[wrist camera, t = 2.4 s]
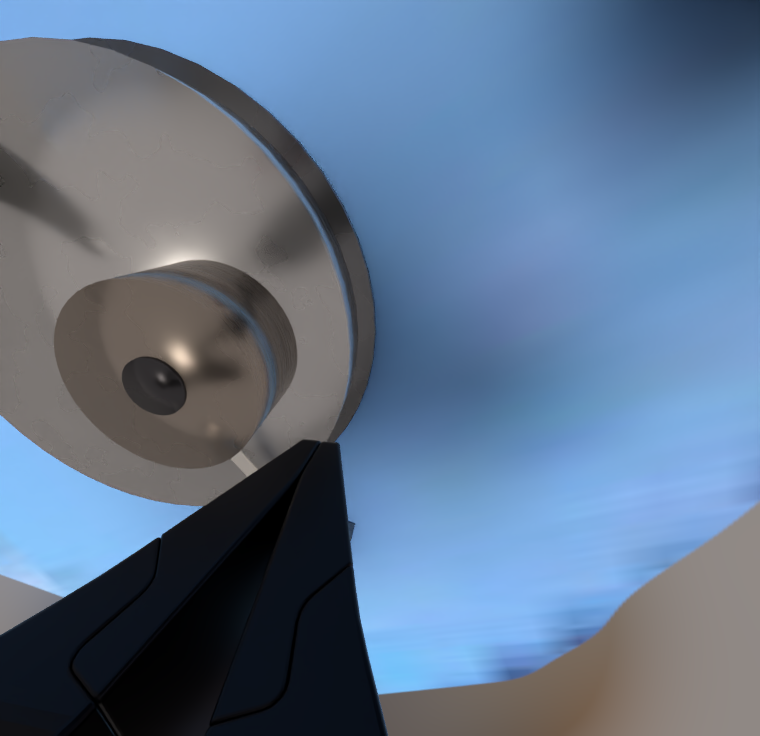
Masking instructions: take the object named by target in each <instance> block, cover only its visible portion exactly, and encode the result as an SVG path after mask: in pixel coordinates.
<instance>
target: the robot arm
mask: <svg viewBox="0 0 760 736" xmlns="http://www.w3.org/2000/svg"><path fill="white" fill-rule="evenodd" d="M0 736H388V733H387V729H386V725H385V721H384V717H383V713H382V709H381V705H380V701H379V697H378V693H377V689H376V685H375V681H374V677H373V673H372V669H371V665H370V661H369V657H368V652H367V648H366V643H365V638H364V634H363V629H362V625H361V620H360V613H359V607H358V600H357V593H356V586H355V577H354V569H353V560H352V551H351V542H350V533H349V524H348V515H347V506H346V497H345V488H344V479H343V470H342V461H341V452H340V445H339V443H337V442H328V441H323V442H320V441H318V440H310V439H303V440H301V441H299V442H298V443H296V444H295V445H293V446H292V447H291V448H289V449H288V450H286V451H285V452H283V453H282V454H280V455H279V456H277V457H276V458H274V459H273V460H271V461H270V462H268V463H267V464H265V465H264V466H263V467H261V468H260V469H258V470H257V471H255V472H254V473H252V474H251V475H249V476H248V477H246V478H245V479H243V480H242V481H240V482H239V483H237V484H236V485H235V486H233V487H232V488H230V489H229V490H227V491H226V492H224V493H223V494H221V495H220V496H218V497H217V498H215V499H214V500H212V501H211V502H209V503H208V504H207V505H205V506H204V507H202V508H201V509H199V510H198V511H196V512H195V513H193V514H192V515H190V516H189V517H187V518H186V519H184V520H183V521H181V522H180V523H179V524H177V525H176V526H174V527H173V528H171V529H170V530H168V531H167V532H165V533H164V534H163V535H162V536H161V538H156V539H155V540H153V541H152V542H150V543H149V544H147V545H146V546H144V547H143V548H141V549H140V550H138V551H137V552H135V553H134V554H132V555H131V556H129V557H128V558H126V559H125V560H123V561H122V562H120V563H119V564H117V565H116V566H114V567H112V568H111V569H109V570H108V571H106V572H105V573H103V574H102V575H100V576H99V577H97V578H95V579H94V580H92V581H90V582H89V583H87V584H85V585H84V586H82V587H80V588H79V589H77V590H76V591H74V592H72V593H71V594H69V595H67V596H66V597H64V598H62V599H61V600H59V601H58V602H56V603H54V604H52V605H51V606H49V607H47V608H46V609H44V610H42V611H41V612H39V613H37V614H36V615H34V616H32V617H30V618H29V619H27V620H25V621H24V622H22V623H20V624H19V625H17V626H15V627H13V628H12V629H10V630H8V631H7V632H5V633H3V634H2V635H0Z"/></svg>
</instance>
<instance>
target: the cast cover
mask: <svg viewBox="0 0 760 736" xmlns="http://www.w3.org/2000/svg"><path fill="white" fill-rule="evenodd" d="M54 352H55V357H56V362H57V366H58V369H59V372H60V375H61V378H62V380H63V382H64V384H65V386H66V388H67V390H68V392H69V393H70V395H71V397H72V398H73V400H74V401H75V403H76V404H77V406H78V407H79V408H80V410H81V411H82V412H83V413H84V414H85V416H86V417H87V418H88V419H89V420H90V421H91V422H92V423H93V424H94V425H95V426H96V427H97V428H98V429H99V430H100V431H101V432H102V433H104V434H105V435H106V436H107V437H109V438H110V439H111V440H112V441H114V442H115V443H117V444H118V445H120V446H121V447H123V448H125V449H126V450H128V451H130V452H132V453H133V454H135V455H138V456H140V457H142V458H144V459H146V460H149V461H152V462H155V463H158V464H161V465H165V466H169V467H176V468H185V469H197V468H206V467H211V466H215V465H218V464H221V463H223V462H225V461H227V460H229V459H231V458H232V457H234V456H235V455H236V454H238V453H239V452H240V451H241V450H242V449H243V448H244V447H245V445H246V444H247V443H248V441H249V440H250V439H251V437H252V436H253V435H254V434H255V432H256V431H257V430H258V428H259V427H260V426H261V424H262V423H263V422H264V420H265V419H266V418H267V416H268V415H269V414H270V412H271V411H272V410H273V408H274V407H275V406H276V404H277V403H278V402H279V401H280V399H281V398H282V397H283V395H284V394H285V393H286V391H287V390H288V388H289V387H290V385H291V383H292V381H293V378H294V375H295V372H296V367H297V345H296V339H295V335H294V332H293V329H292V326H291V324H290V321H289V319H288V317H287V315H286V314H285V312H284V310H283V308H282V307H281V306H280V304H279V303H278V302H277V300H276V299H275V298H274V297H273V295H272V294H271V293H270V292H269V291H268V290H267V289H266V288H265V287H264V286H263V285H261V284H260V283H259V282H258V281H257V280H255V279H254V278H252V277H251V276H249V275H248V274H246V273H245V272H243V271H241V270H239V269H237V268H235V267H232V266H230V265H227V264H224V263H220V262H216V261H211V260H188V261H182V262H178V263H174V264H170V265H165V266H161V267H157V268H153V269H149V270H144V271H140V272H136V273H132V274H128V275H123V276H119V277H115V278H111V279H107V280H102V281H98V282H96V283H93V284H90V285H87V286H86V287H84V288H82V289H81V290H79V291H77V292H76V293H75V294H74V295H73V296H72V297H71V298H69V299H68V301H67V302H66V303H65V305H64V306H63V308H62V309H61V311H60V314H59V316H58V318H57V322H56V326H55V330H54Z"/></svg>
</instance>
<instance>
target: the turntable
mask: <svg viewBox="0 0 760 736" xmlns="http://www.w3.org/2000/svg"><path fill="white" fill-rule="evenodd" d="M188 260H211V261H216V262H220V263H224V264H227V265H230V266H232V267H235V268H237V269H239V270H241V271H243V272H245V273H246V274H248V275H249V276H251V277H252V278H254V279H255V280H257V281H258V282H259V283H260V284H261V285H263V286H264V287H265V288H266V289H267V290H268V291H269V292H270V293H271V294H272V295H273V297H274V298H275V299H276V300H277V302H278V303H279V304H280V306H281V307H282V308H283V310H284V312H285V314H286V315H287V317H288V319H289V321H290V324H291V326H292V329H293V332H294V335H295V339H296V345H297V367H296V372H295V375H294V378H293V381H292V383H291V385H290V387H289V388H288V390H287V391H286V393H285V394H284V395H283V397H282V398H281V399H280V401H279V402H278V403H277V404H276V406H275V407H274V408H273V410H272V411H271V412H270V414H269V415H268V416H267V418H266V419H265V420H264V422H263V423H262V424H261V426H260V427H259V428H258V430H257V431H256V432H255V434H254V435H253V436H252V437H251V439H250V440H249V441H248V443H247V444H246V445H245V447H244V448H243V449H242V450H241V451H240V452H239V453H238V454H236V455H235V456H234V457H232V458H231V459H229V460H227V461H225V462H223V463H221V464H218V465H215V466H211V467H206V468H197V469H185V468H176V467H169V466H165V465H161V464H158V463H155V462H152V461H149V460H146V459H144V458H142V457H140V456H138V455H135V454H133V453H132V452H130V451H128V450H126V449H125V448H123V447H121V446H120V445H118V444H117V443H115V442H114V441H112V440H111V439H110V438H109V437H107V436H106V435H105V434H104V433H102V432H101V431H100V430H99V429H98V428H97V427H96V426H95V425H94V424H93V423H92V422H91V421H90V420H89V419H88V418H87V417H86V416H85V414H84V413H83V412H82V411H81V410H80V408H79V407H78V406H77V404H76V403H75V401H74V400H73V398H72V397H71V395H70V393H69V392H68V390H67V388H66V386H65V384H64V382H63V380H62V378H61V375H60V372H59V369H58V366H57V362H56V357H55V352H54V330H55V326H56V322H57V318H58V316H59V314H60V311H61V309H62V308H63V306H64V305H65V303H66V302H67V301H68V299H69V298H71V297H72V296H73V295H74V294H75V293H76V292H77V291H79V290H81V289H82V288H84V287H86V286H87V285H90V284H93V283H96V282H98V281H102V280H107V279H111V278H115V277H119V276H123V275H128V274H132V273H136V272H140V271H144V270H149V269H153V268H157V267H161V266H165V265H170V264H174V263H178V262H182V261H188ZM357 348H358V322H357V308H356V302H355V297H354V293H353V288H352V283H351V278H350V275H349V272H348V269H347V266H346V263H345V260H344V257H343V254H342V251H341V248H340V245H339V243H338V241H337V239H336V237H335V235H334V233H333V231H332V229H331V227H330V224H329V222H328V220H327V218H326V216H325V214H324V213H323V211H322V210H321V208H320V206H319V205H318V203H317V202H316V200H315V198H314V197H313V195H312V194H311V192H310V190H309V189H308V187H307V186H306V184H305V183H304V182H303V181H302V179H301V178H300V177H299V176H298V174H297V173H296V172H295V171H294V169H293V168H292V167H291V166H290V164H289V163H288V162H287V161H286V159H285V158H284V157H283V156H282V155H281V154H280V153H279V152H278V151H277V150H276V149H275V148H274V147H273V146H272V145H271V144H270V143H269V142H268V141H267V140H266V139H265V138H264V137H263V136H262V135H261V134H260V133H259V132H258V131H257V130H256V129H255V128H254V127H252V126H251V125H250V124H248V123H247V122H246V121H244V120H243V119H242V118H241V117H239V116H238V115H237V114H235V113H234V112H233V111H231V110H230V109H229V108H228V107H226V106H225V105H223V104H222V103H220V102H218V101H217V100H215V99H213V98H211V97H210V96H208V95H206V94H205V93H203V92H201V91H199V90H198V89H196V88H194V87H193V86H191V85H189V84H187V83H185V82H183V81H181V80H179V79H176V78H174V77H172V76H170V75H168V74H166V73H164V72H162V71H160V70H158V69H156V68H154V67H152V66H150V65H148V64H145V63H143V62H140V61H138V60H135V59H133V58H131V57H128V56H126V55H123V54H121V53H118V52H116V51H113V50H111V49H107V48H103V47H99V46H95V45H91V44H87V43H82V42H78V41H74V40H68V39H53V38H38V37H30V38H22V39H14V40H6V41H0V415H1V416H2V417H4V418H5V419H6V420H7V421H8V422H9V423H10V424H12V425H13V426H14V427H15V428H16V429H17V430H18V431H19V432H21V433H22V434H23V435H24V436H26V437H27V438H28V439H30V440H31V441H32V442H34V443H35V444H36V445H37V446H39V447H40V448H41V449H43V450H44V451H46V452H47V453H49V454H50V455H52V456H53V457H55V458H56V459H58V460H60V461H61V462H63V463H64V464H66V465H68V466H69V467H71V468H73V469H75V470H77V471H78V472H80V473H82V474H84V475H86V476H88V477H90V478H92V479H94V480H96V481H99V482H101V483H103V484H105V485H107V486H110V487H112V488H115V489H118V490H121V491H123V492H126V493H129V494H132V495H135V496H139V497H143V498H146V499H150V500H154V501H159V502H165V503H171V504H177V505H191V506H205V505H207V504H208V503H209V502H211V501H212V500H214V499H215V498H217V497H218V496H220V495H221V494H223V493H224V492H226V491H227V490H229V489H230V488H232V487H233V486H235V485H236V484H237V483H239V482H240V481H242V480H243V479H245V478H246V477H248V476H249V475H251V474H252V473H254V472H255V471H257V470H258V469H260V468H261V467H263V466H264V465H265V464H267V463H268V462H270V461H271V460H273V459H274V458H276V457H277V456H279V455H280V454H282V453H283V452H285V451H286V450H288V449H289V448H291V447H292V446H293V445H295V444H296V443H298V442H299V441H301V440H303V439H310V440H318V441H320V442H323V441H327V439H328V438H329V436H330V434H331V432H332V430H333V429H334V427H335V424H336V422H337V420H338V417H339V415H340V413H341V410H342V408H343V405H344V403H345V400H346V398H347V395H348V392H349V390H350V387H351V384H352V380H353V375H354V371H355V366H356V361H357Z"/></svg>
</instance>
